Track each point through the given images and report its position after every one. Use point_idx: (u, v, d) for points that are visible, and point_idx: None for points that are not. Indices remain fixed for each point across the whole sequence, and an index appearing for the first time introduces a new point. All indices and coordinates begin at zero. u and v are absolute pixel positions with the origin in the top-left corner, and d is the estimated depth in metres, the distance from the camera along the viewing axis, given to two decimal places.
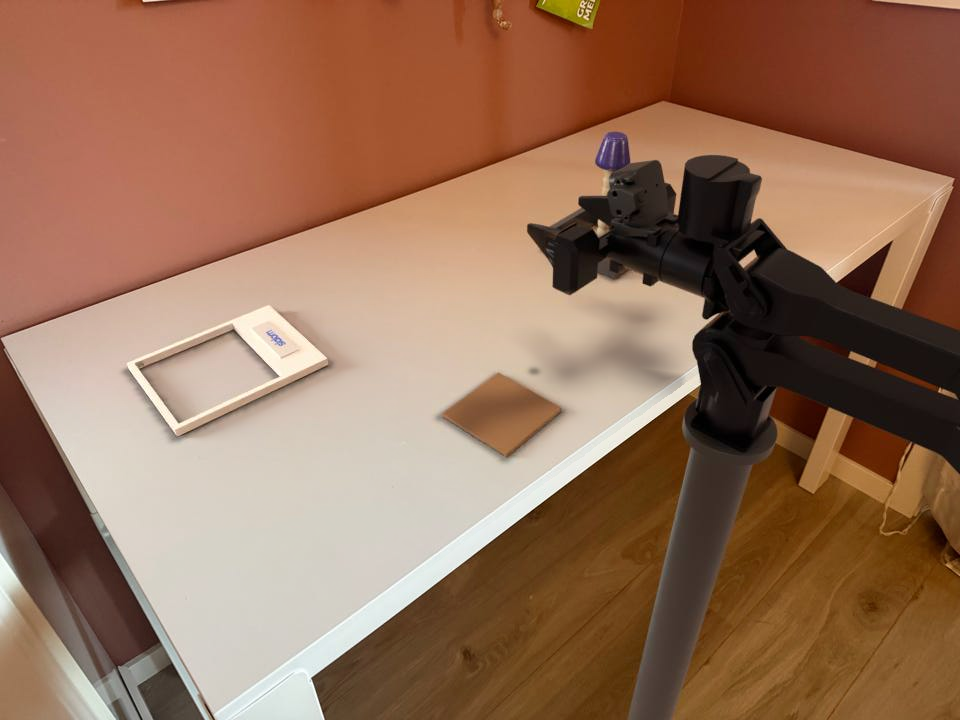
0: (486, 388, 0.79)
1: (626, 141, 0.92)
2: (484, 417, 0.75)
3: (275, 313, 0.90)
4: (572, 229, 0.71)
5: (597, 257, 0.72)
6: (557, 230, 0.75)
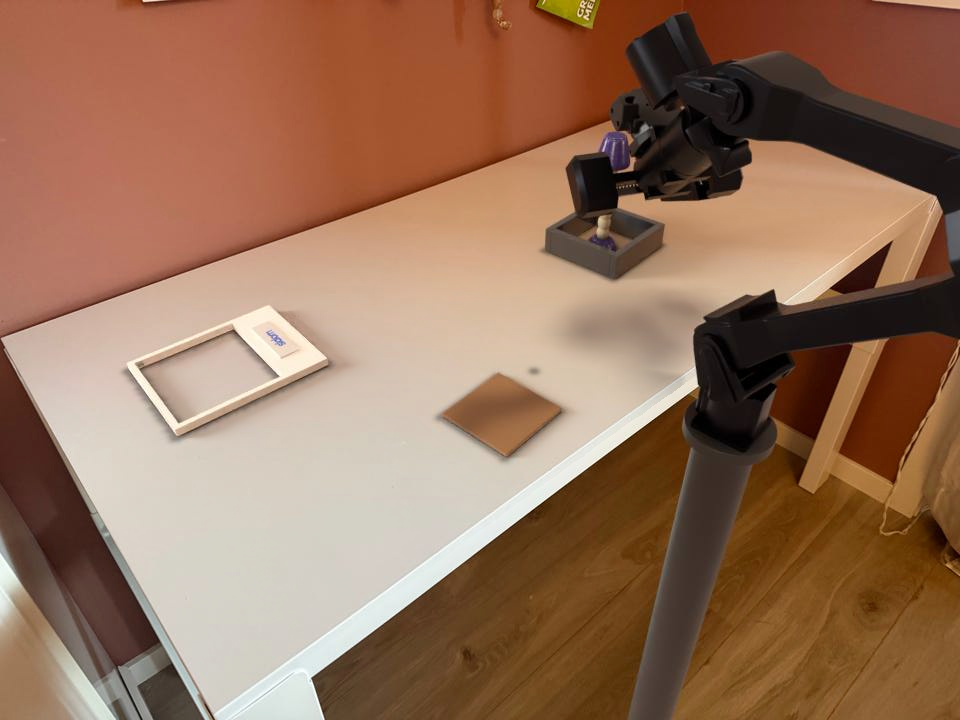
0: (486, 388, 0.79)
1: (626, 141, 0.92)
2: (484, 417, 0.75)
3: (275, 313, 0.90)
4: None
5: (611, 173, 0.73)
6: None
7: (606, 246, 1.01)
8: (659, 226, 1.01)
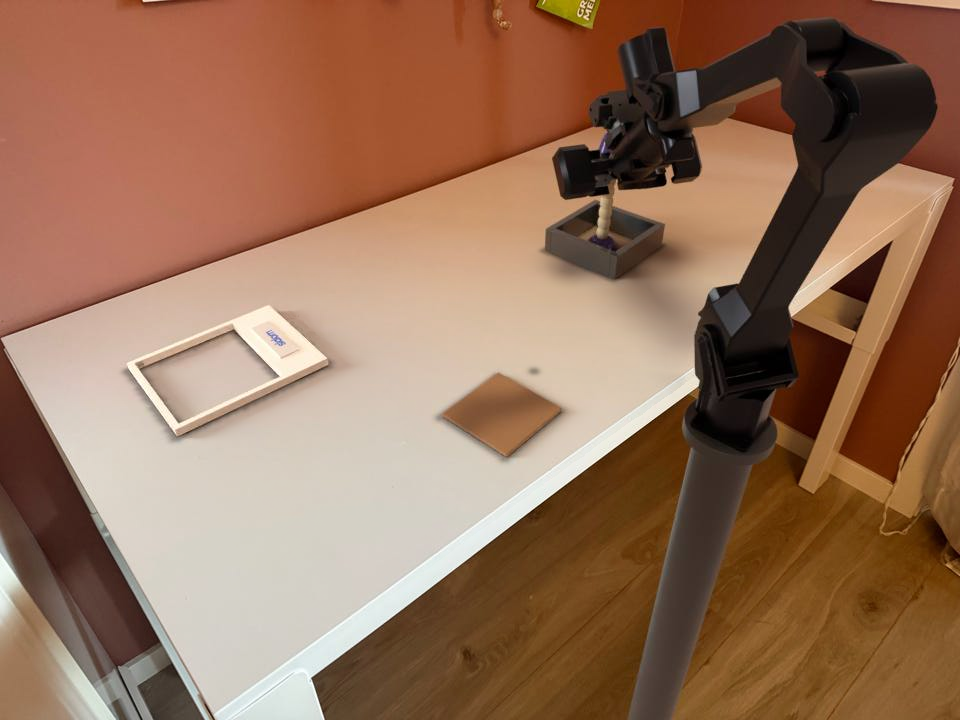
0: (486, 388, 0.79)
1: None
2: (484, 417, 0.75)
3: (275, 313, 0.90)
4: None
5: (590, 162, 0.88)
6: None
7: (606, 246, 1.01)
8: (659, 226, 1.01)
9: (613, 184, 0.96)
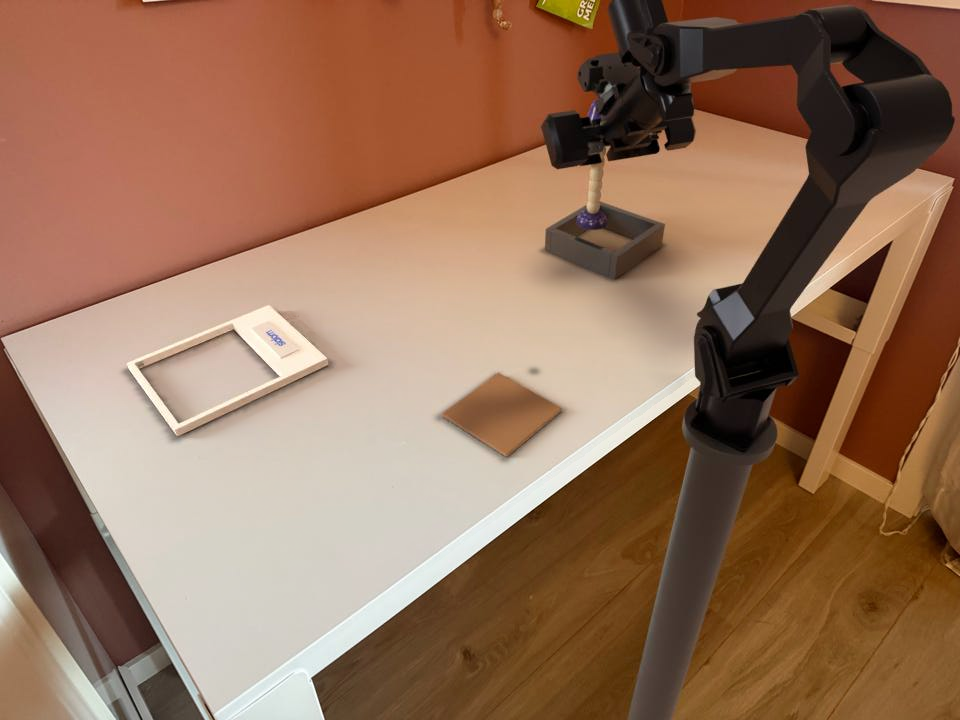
0: (486, 388, 0.79)
1: None
2: (484, 417, 0.75)
3: (275, 313, 0.90)
4: None
5: (581, 128, 0.84)
6: None
7: (597, 220, 0.97)
8: (659, 226, 1.01)
9: (603, 154, 0.92)
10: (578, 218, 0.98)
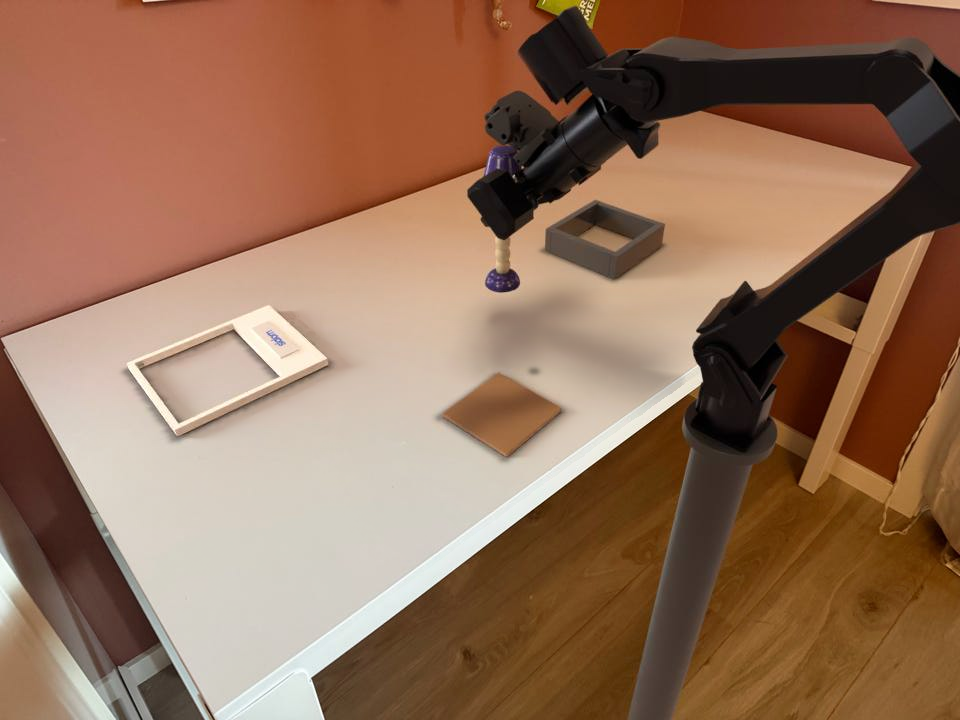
0: (486, 388, 0.79)
1: None
2: (484, 417, 0.75)
3: (275, 313, 0.90)
4: None
5: (517, 187, 0.71)
6: None
7: (514, 279, 0.85)
8: (659, 226, 1.01)
9: None
10: (490, 283, 0.85)
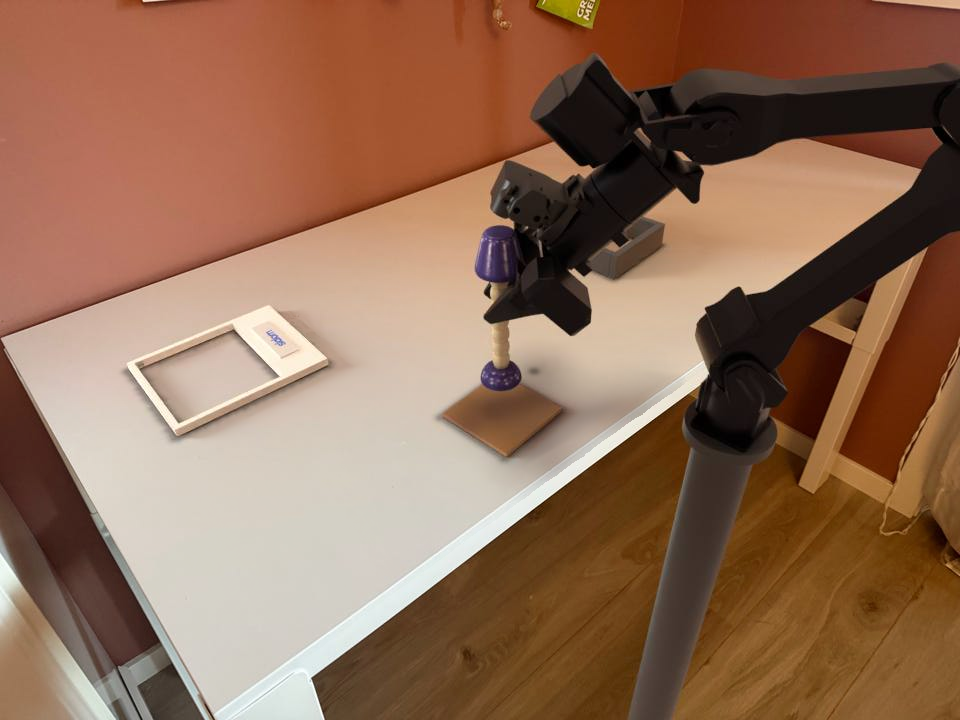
0: (486, 388, 0.79)
1: None
2: (484, 417, 0.75)
3: (275, 313, 0.90)
4: (524, 277, 0.58)
5: (567, 271, 0.59)
6: (510, 285, 0.64)
7: (517, 368, 0.73)
8: (659, 226, 1.01)
9: None
10: (497, 383, 0.71)
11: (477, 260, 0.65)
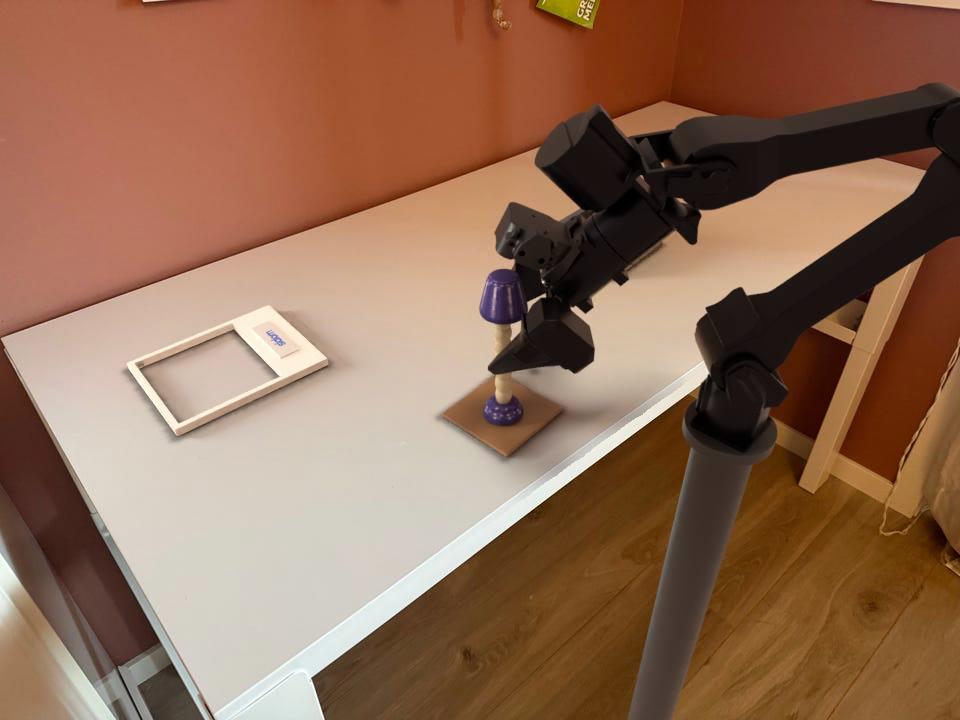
0: (486, 388, 0.79)
1: None
2: (484, 417, 0.75)
3: (275, 313, 0.90)
4: (529, 317, 0.60)
5: (571, 311, 0.61)
6: (516, 338, 0.63)
7: (519, 403, 0.75)
8: None
9: None
10: (500, 418, 0.74)
11: (482, 302, 0.67)
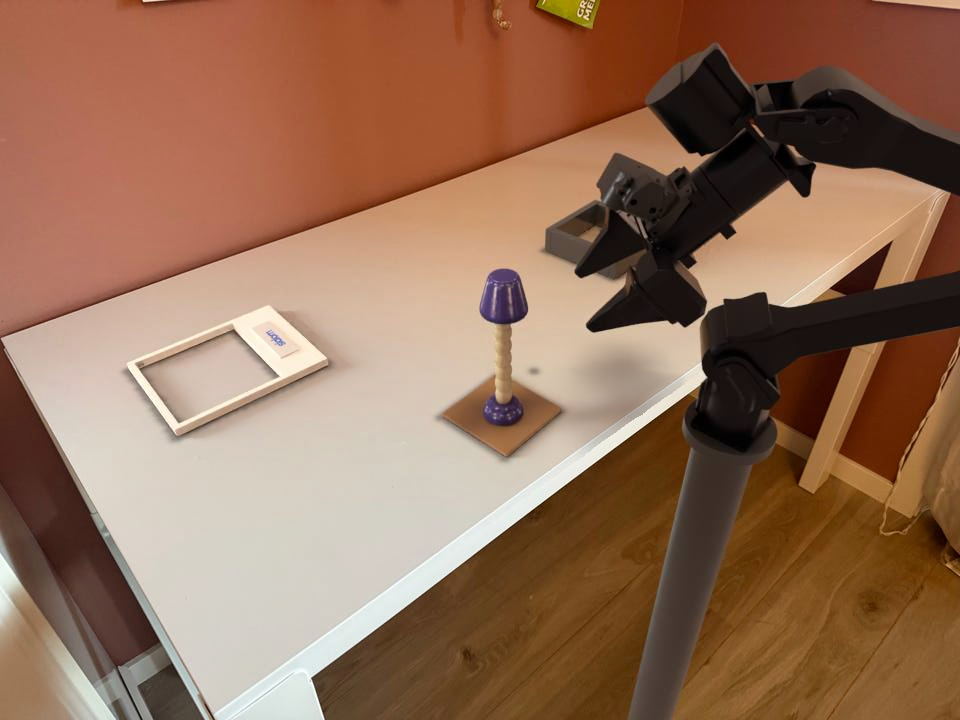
0: (486, 388, 0.79)
1: None
2: (484, 417, 0.75)
3: (275, 313, 0.90)
4: (639, 268, 0.58)
5: (680, 263, 0.59)
6: (619, 293, 0.62)
7: (519, 403, 0.75)
8: None
9: None
10: (500, 418, 0.74)
11: (482, 302, 0.67)
